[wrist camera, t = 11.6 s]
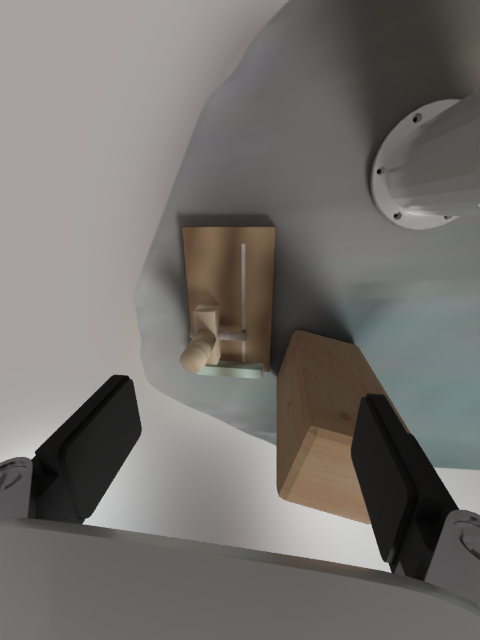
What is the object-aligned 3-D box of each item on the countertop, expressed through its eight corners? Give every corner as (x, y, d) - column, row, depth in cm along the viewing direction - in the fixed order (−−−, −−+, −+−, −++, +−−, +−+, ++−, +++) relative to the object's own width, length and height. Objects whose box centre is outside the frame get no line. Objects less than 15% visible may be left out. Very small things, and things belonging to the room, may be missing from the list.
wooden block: (293, 325, 39) (308, 424, 21) (359, 343, 39) (432, 459, 21) (275, 379, 43) (273, 502, 25) (334, 395, 43) (377, 532, 24)
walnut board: (275, 226, 34) (275, 228, 31) (269, 365, 42) (269, 379, 39) (187, 226, 36) (176, 227, 32) (197, 360, 44) (189, 373, 40)
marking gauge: (247, 306, 37) (238, 332, 29) (247, 356, 40) (239, 393, 32) (192, 303, 38) (168, 329, 30) (196, 352, 41) (175, 388, 33)
